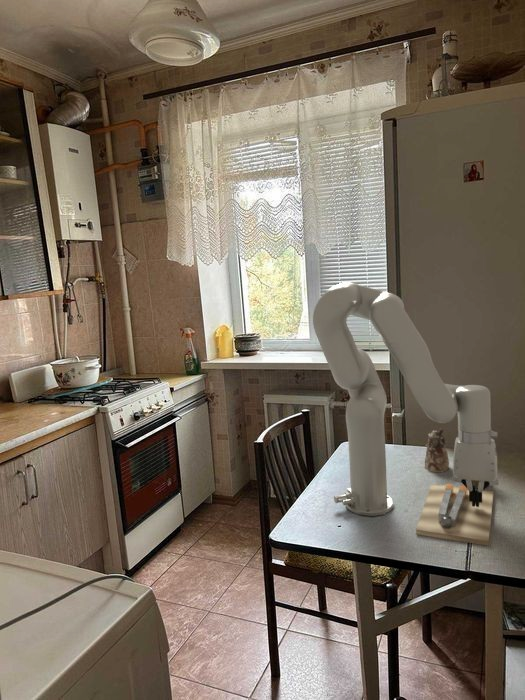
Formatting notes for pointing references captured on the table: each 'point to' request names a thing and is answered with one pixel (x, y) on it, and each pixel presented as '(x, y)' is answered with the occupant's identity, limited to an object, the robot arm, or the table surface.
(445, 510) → the arm
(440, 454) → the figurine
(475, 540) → the board
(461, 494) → the tongs arm
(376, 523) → the table surface
